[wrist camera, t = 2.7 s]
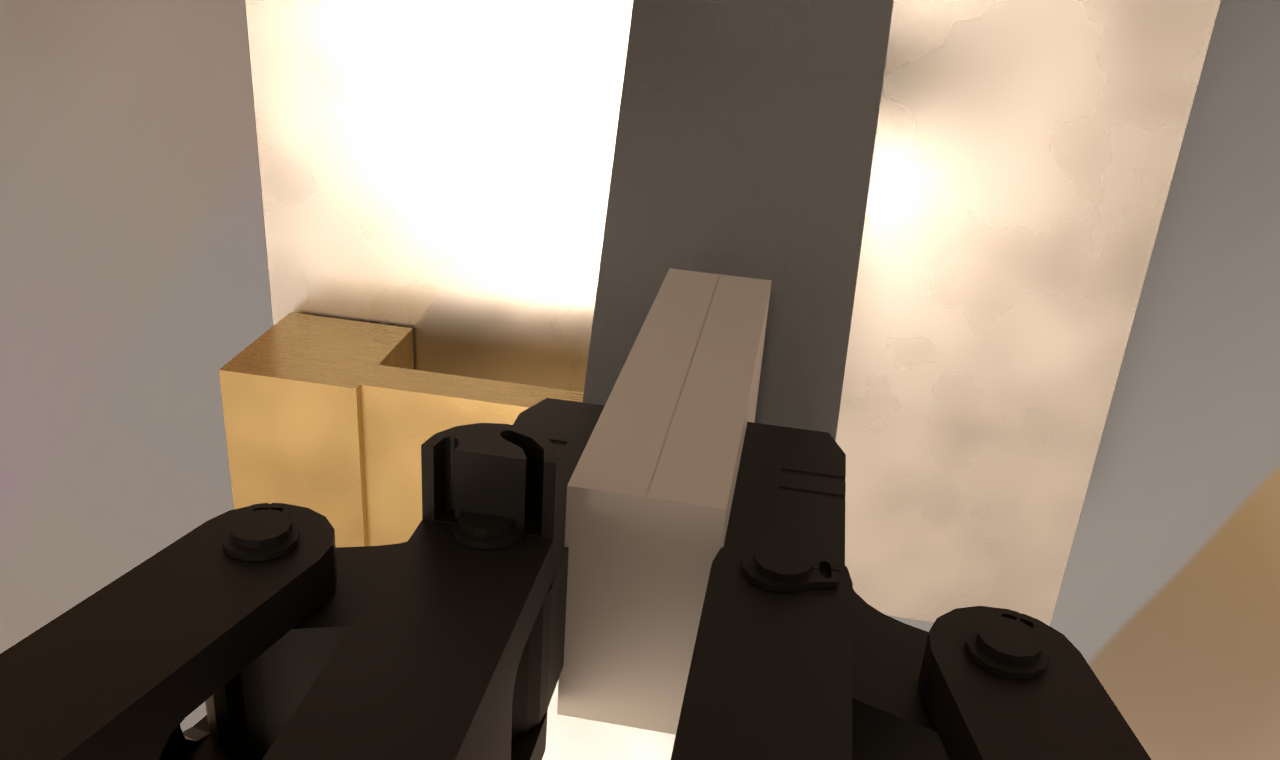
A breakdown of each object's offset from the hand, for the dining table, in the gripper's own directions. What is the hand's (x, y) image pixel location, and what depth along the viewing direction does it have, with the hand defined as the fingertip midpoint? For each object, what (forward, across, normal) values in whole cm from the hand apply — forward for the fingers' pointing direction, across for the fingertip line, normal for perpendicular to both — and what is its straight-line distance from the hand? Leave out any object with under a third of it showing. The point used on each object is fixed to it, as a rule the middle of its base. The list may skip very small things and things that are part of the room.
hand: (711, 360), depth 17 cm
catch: (+8, -7, -5) cm, 11 cm away
